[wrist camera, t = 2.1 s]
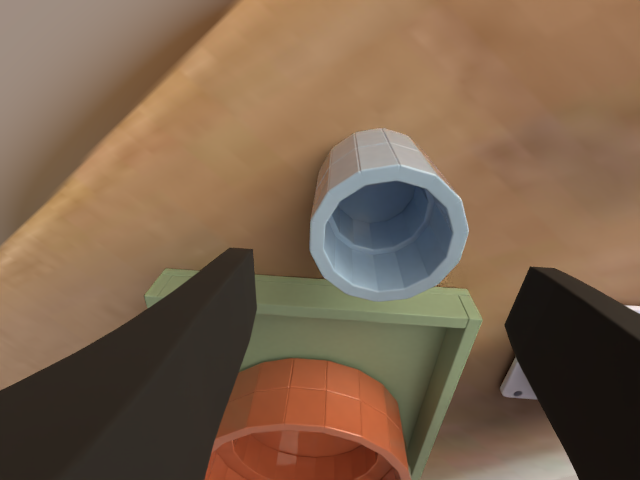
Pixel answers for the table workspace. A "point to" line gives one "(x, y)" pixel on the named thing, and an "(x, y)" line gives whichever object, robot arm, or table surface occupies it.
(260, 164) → the table surface
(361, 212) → the pale blue cup
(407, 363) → the tray
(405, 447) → the big bowl
